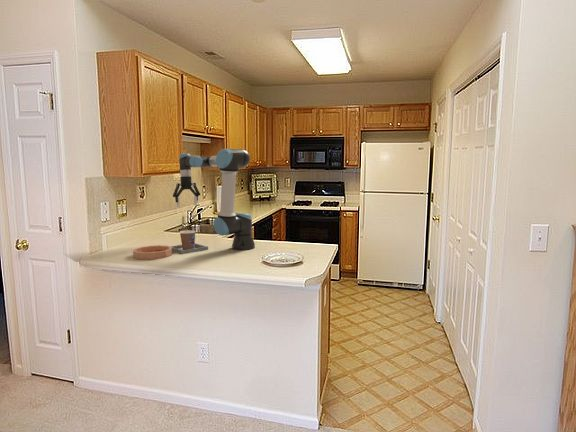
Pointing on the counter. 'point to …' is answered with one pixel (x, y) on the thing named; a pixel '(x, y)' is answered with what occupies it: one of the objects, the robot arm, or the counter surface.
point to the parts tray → (200, 248)
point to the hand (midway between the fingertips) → (187, 206)
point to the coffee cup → (187, 239)
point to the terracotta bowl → (152, 252)
